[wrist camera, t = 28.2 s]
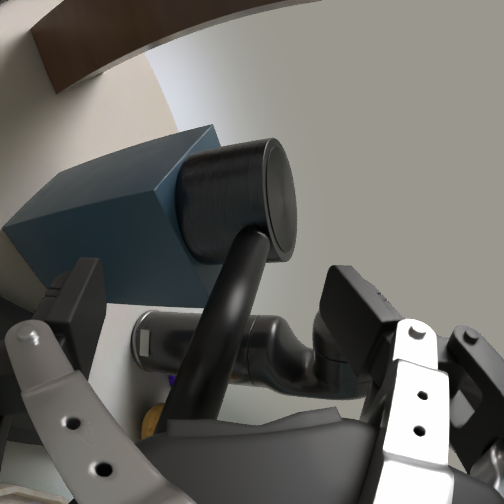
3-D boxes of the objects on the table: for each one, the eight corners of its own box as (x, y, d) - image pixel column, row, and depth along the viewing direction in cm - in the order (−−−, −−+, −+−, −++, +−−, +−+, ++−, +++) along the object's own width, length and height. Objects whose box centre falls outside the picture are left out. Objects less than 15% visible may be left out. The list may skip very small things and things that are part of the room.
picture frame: (77, 336, 32) (-52, 268, 18) (88, 338, 31) (-47, 268, 17) (58, 442, 26) (-81, 410, 12) (70, 449, 25) (-77, 419, 11)
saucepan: (207, 135, 23) (279, 121, 21) (238, 220, 28) (302, 214, 26) (18, 387, 8) (127, 441, 6) (134, 462, 13) (233, 492, 11)
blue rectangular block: (59, 172, 31) (213, 123, 24) (99, 239, 37) (248, 223, 30) (1, 227, 24) (153, 190, 17) (55, 298, 30) (215, 309, 23)
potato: (167, 456, 44) (202, 466, 42) (119, 448, 35) (158, 463, 33) (178, 408, 50) (213, 415, 47) (134, 389, 40) (173, 399, 38)
